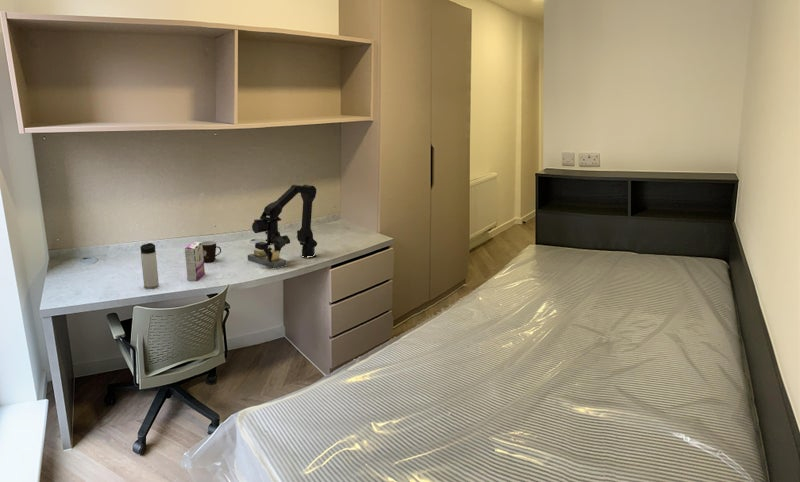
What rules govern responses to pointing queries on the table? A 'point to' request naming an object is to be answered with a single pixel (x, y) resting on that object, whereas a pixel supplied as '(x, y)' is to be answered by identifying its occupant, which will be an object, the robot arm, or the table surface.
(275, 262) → the grey slotted base
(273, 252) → the tan wooden block
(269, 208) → the robot arm
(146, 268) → the travel mug
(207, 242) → the coffee mug
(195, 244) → the candy bar box
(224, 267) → the table surface
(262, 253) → the seated nut
